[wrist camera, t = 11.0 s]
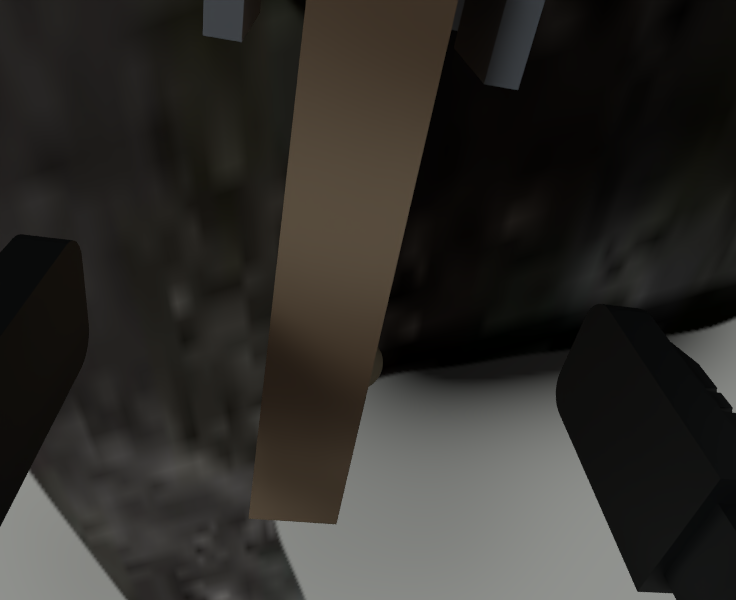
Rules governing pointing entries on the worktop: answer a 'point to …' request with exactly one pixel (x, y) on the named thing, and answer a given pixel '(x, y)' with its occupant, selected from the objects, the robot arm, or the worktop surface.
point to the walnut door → (341, 238)
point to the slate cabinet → (471, 21)
